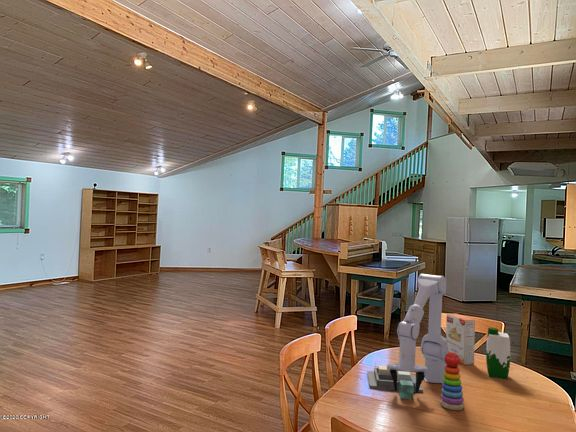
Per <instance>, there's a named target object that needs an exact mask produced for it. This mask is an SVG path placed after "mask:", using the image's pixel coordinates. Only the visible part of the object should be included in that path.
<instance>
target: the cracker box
mask: <svg viewBox="0 0 576 432" xmlns="http://www.w3.org/2000/svg"><path fill="white" fill-rule="evenodd" d="M445 324H446V329H445V330H446V331H445V332H446V333H445V339H446V340H447V342H448V353H450V352H452V353H455V354H457V355H458V356H459V359H460V363H459V364H461V365H463V366H468V365H469V366H471V365H475V342H476V341H475V338H476V337H475V336H476V334H475V333H476V319H473V318H470V317H467V316H465V315H461V314H459V313H446V322H445Z"/></svg>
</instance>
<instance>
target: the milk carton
mask: <svg viewBox="0 0 576 432" xmlns="http://www.w3.org/2000/svg"><path fill="white" fill-rule="evenodd" d="M486 336H487V338H486V359H485V360H486V369H487V376H488V377H489V378H493V379H499V380H507V381H508V378H509V373H510V367H511V340H510V336H509V334H508V333H506V332H502V331H501V332H500V331H499V329H498V328H497V327H488V328H487V335H486Z"/></svg>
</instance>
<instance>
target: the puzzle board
mask: <svg viewBox="0 0 576 432" xmlns="http://www.w3.org/2000/svg"><path fill="white" fill-rule="evenodd" d="M373 368H374V369H373V371H370V370H367V371H366V374H367V380H368V381H367V382H368V385H369V389H373V390H376V389H377V390H385V391H387V390H388V391H395V390H394V383H393V379H392V376H391V374H390V371H387V365H380V364H379V365H378V367H373ZM411 373H412V372H404V371H397V391H396V392H399V380H405V381H412V383H413V385H414V393H416V391H415V386H416V374H411ZM418 393H422V394H423V393H424V388H423V387H422V384H421V385H420V388H419V391H418Z"/></svg>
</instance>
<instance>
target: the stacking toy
mask: <svg viewBox="0 0 576 432" xmlns="http://www.w3.org/2000/svg"><path fill="white" fill-rule="evenodd" d="M445 363H446V364H447V365H446V366H445V372H444V378H443V383H441V384H442V388H441V394H440V400H439V404H440V405H441V406H442V408H445V409H447V410H451V411H462V410H463V409H465V408H464V407H465V404H464V397H463V396H464V394H463V393H464V392H463V391H462V390H463V386H462V380H461V374H460V371H461V370H460V368H459V365H460V364H461V363H460V359H459V356H458V355H457V354H455V353H452V352H450V353H447V354H446V355H445Z"/></svg>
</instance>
